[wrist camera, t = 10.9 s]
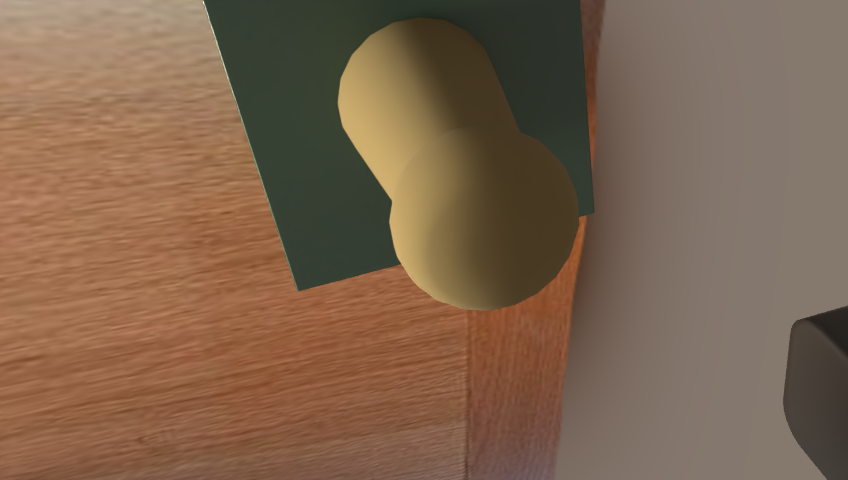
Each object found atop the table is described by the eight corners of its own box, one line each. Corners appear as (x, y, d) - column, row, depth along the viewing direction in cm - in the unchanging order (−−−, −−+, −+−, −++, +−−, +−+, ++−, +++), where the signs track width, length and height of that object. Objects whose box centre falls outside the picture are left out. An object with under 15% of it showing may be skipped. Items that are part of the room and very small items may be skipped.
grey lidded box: (195, -99, 34) (184, -54, 26) (493, -166, 35) (570, -141, 27) (284, 189, 41) (297, 292, 33) (526, 127, 42) (595, 213, 34)
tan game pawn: (318, 153, 30) (357, 329, 21) (364, -4, 28) (430, 119, 18) (464, 185, 32) (558, 358, 23) (520, 41, 30) (650, 173, 20)
